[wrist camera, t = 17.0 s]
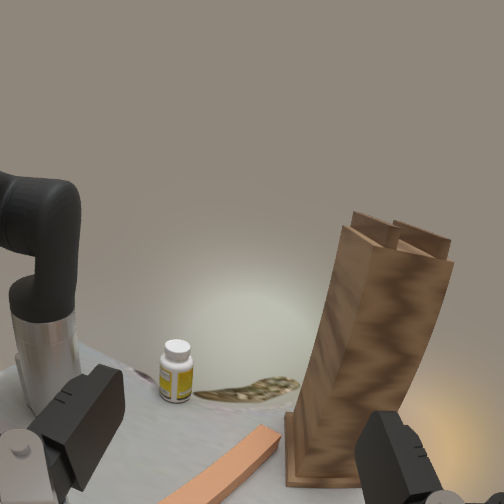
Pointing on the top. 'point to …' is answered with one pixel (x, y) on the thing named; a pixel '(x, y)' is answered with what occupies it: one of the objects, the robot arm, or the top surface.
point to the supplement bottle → (176, 371)
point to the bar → (228, 470)
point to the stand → (364, 344)
